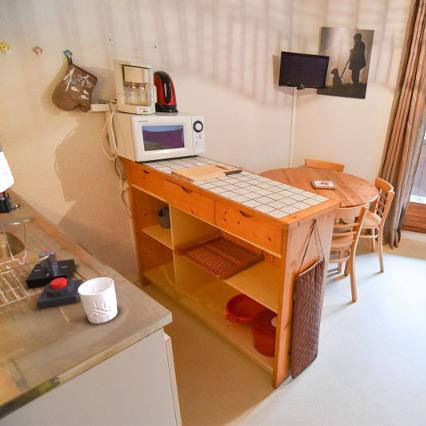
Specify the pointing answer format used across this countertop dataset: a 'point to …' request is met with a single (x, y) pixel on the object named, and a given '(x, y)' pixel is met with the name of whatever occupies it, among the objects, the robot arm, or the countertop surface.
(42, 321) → the countertop surface
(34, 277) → the stove panel
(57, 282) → the button
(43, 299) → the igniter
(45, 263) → the stove knob
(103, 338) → the countertop surface
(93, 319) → the white cup
